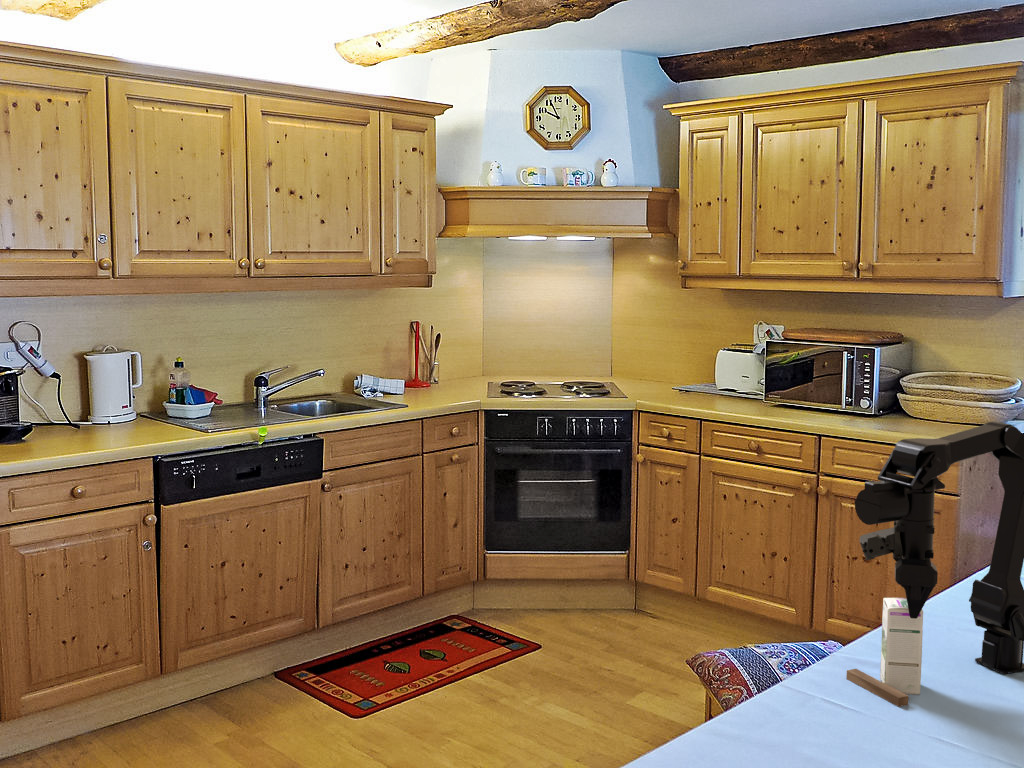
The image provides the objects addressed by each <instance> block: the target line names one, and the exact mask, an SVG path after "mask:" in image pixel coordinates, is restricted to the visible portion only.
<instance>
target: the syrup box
mask: <svg viewBox="0 0 1024 768" xmlns="http://www.w3.org/2000/svg"><path fill="white" fill-rule="evenodd" d="M882 602H883V604H882V619H881V620H882V621H881V622H882V623H881V647H880V648H881V649H880V670H879V673H880V675H879V678H880V681H881V682H883V683H885V684H887V685H889V686H891V687H893V688H894V689H896V690H898V691H900V692H902V693H904V694H906V695H918V696H919V695H921V684H922V683H921V682H922V681H921V680H922V662H923V660H922V659H923V658H922V657H923V631H924V630H923V628H924V627H923V626H924V610H923V609H922V610H921V612H920V614H919V616H918V617H917V618H916V619H915V618H910V615H909V610H908V604H907V598H906V597H883V601H882Z"/></svg>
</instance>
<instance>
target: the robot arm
mask: <svg viewBox="0 0 1024 768" xmlns="http://www.w3.org/2000/svg"><path fill="white" fill-rule="evenodd" d="M989 453H990V455H991V456H992V457H994V458H995V459H996V460H997V461H998V473H997V475H998V478H999V480H1000V483H1001V485H1002V488H1003V491H1004V492H1003V493H1004V494H1003V497H1002V503H1001V509H1000V512H999V513H1000V514H999V519H998V525H997V529H996V535H995V540H994V544H993V549H992V553H991V554H992V555H991V560H990V564H989V569H988V572H987V573H986V574H985V575H984V576H983V577H982V578H981V579H980V580H979V579H975V580H974V581H973V583H972V589H971V594H970V597H969V599H968V602H969V603H970V611H971V612H972V614H973V619H974V624H975V627H980V628H983V629H985V630H984V631H983V640H982V642H981V643H982V644H981V645H982V647H981V657H976V658H974V662H976V663H978V664H980V665H982V666H984V667H987V668H989V669H991V670H994V671H996V672H997V673H1000V674H1003V675H1009V674H1011V673H1013V674H1014V673H1018V672H1022V671H1024V662H1023V661H1024V660H1023V659H1024V586H1023V584H1022V580H1021V576H1022V571H1023V567H1024V566H1023V565H1024V433H1023V432H1021V431H1020V430H1019V429H1018V428H1017V427H1015V426H1014V425H1013V424H1010V423H1004V422H997V421H989V422H986V423H984V424H983V425H979V426H977V427H972V428H969V429H965V430H962V431H959V432H956V433H953V434H949V435H944V436H942V437H938V438H925V437H924V438H920V437H917V438H904V439H901V440H899V441H897V442H896V443H895V446H894V448H893V449H892V452H891V453H890V455H889V456H888V459H887V460H886V462H885V464H884V465H883V467H882V469H881V470H880V472H879V474H878V476H877V480H878V481H873V480H871V481H869V480H868V481H865V482H864V489H861V490H860V491H859V492H858V493H857V496H856V498H855V500H854V510H855V513H856V515H857V518H858V519H859V520H860V521H861V522H862V523H864V524H865V525H868V526H873V525H879V524H885V523H890V522H893V527H890V528H885V529H880V530H876V531H872V532H869V533H865V534H862V535H860V536H859V544H860V547H861V549H862V550H861V551H862V553H863V555H864V556H863V557H864V558H865V560H866V561H871V560H875V558H877V557H881V556H886V555H889V554H892V558H893V560H894V561H895V563H894V579H895V580H894V581H895V582H896V584H897V585H900V586H901V588H903V589H904V591H905V598H907V604H908V610H909V615H910V618H915V619H916V618H917V617H918V616H919V614H920V612H921V610H923V608H924V606H925V604H926V602H928V601H927V600H928V598H929V597H930V595H931V593H932V591H933V590H934V588H935V587H936V586H937V585H938V579H939V578H938V576H939V574H938V568H937V565H935V564H934V562H933V561H932V559H933V560H934V555H935V554H934V548H933V547H934V535H935V525H934V521H935V519H934V517H935V493H936V492H935V491H936V490H943V489H945V488H946V484H945V483H943V482H942V481H941V480H940V479H939V478H938V477H939V476H942V475H943V474H945V473H947V472H948V471H949V469H950V467H951V466H952V465H953V464H955V463H959V462H961V461H966V460H968V459H971V458H975V457H978V456H981V455H984V454H989ZM910 476H911V477H910Z"/></svg>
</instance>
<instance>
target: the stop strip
mask: <svg viewBox="0 0 1024 768" xmlns="http://www.w3.org/2000/svg"><path fill="white" fill-rule="evenodd" d="M845 677H846V680H848V681H850V682H852V683H853V684H855V685H857V686H859V687H861V688H863V689H865V690H866V691H868V692H870V693H872V694H874V695H875V696H878V697H879V698H881V699H884V700H885V701H887V702H888V703H890V704H892V705H894V706H896V707H898V708H900V707H903V706H909V700H910V699H909V696H910V695H909V694H904V693H902V692H900V691H898V690H896V689H894V688H893V687H891V686H889V685H887V684H885V683H883V682H881V680H879V679H877V678H875V677H873V676H871V675H870V674H867V673H866V672H864V671H862V670H860V669H858V668H853V669H847V670H846V676H845Z"/></svg>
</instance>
